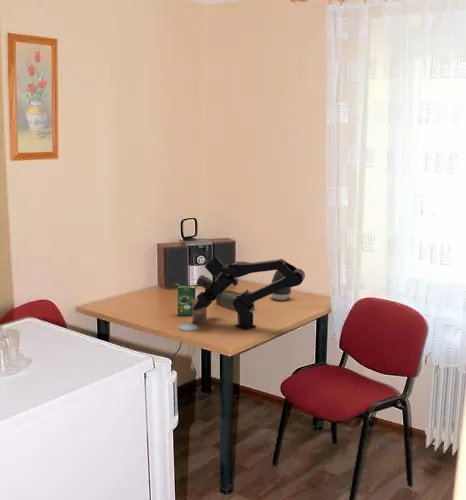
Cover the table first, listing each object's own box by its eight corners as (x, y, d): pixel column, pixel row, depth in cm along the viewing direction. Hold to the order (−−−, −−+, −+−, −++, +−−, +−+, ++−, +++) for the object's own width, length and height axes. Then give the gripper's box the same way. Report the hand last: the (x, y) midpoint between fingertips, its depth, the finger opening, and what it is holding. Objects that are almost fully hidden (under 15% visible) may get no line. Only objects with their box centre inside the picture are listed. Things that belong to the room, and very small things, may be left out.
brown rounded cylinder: (209, 322, 267) (209, 300, 265) (197, 325, 264) (197, 302, 262) (201, 319, 272) (200, 297, 270) (189, 322, 268) (189, 299, 266)
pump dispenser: (290, 302, 299) (291, 271, 296) (269, 301, 301) (269, 270, 298) (292, 296, 309) (292, 266, 306) (271, 295, 310) (271, 266, 307)
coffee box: (195, 313, 280) (195, 285, 278) (195, 315, 277) (195, 287, 275) (177, 313, 280) (177, 285, 277) (177, 315, 277) (177, 287, 274)
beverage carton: (242, 313, 281) (242, 299, 280) (215, 304, 295) (215, 291, 294) (255, 310, 286) (255, 296, 285) (227, 301, 300) (227, 288, 299)
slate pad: (201, 328, 260) (201, 327, 260) (185, 332, 255) (185, 331, 255) (190, 323, 266) (190, 322, 266) (174, 327, 261) (174, 326, 261)
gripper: (214, 265, 271) (190, 288, 276) (201, 275, 253) (176, 299, 258) (231, 284, 271) (207, 306, 276) (219, 295, 253) (194, 319, 258)
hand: (196, 307), depth 267 cm, fingers closed on brown rounded cylinder, 6 cm apart
